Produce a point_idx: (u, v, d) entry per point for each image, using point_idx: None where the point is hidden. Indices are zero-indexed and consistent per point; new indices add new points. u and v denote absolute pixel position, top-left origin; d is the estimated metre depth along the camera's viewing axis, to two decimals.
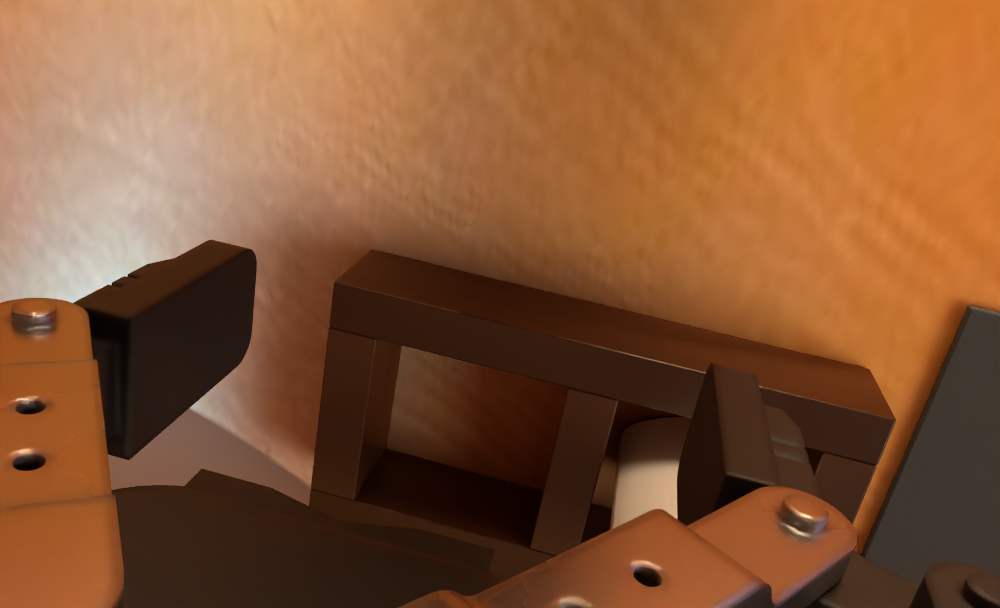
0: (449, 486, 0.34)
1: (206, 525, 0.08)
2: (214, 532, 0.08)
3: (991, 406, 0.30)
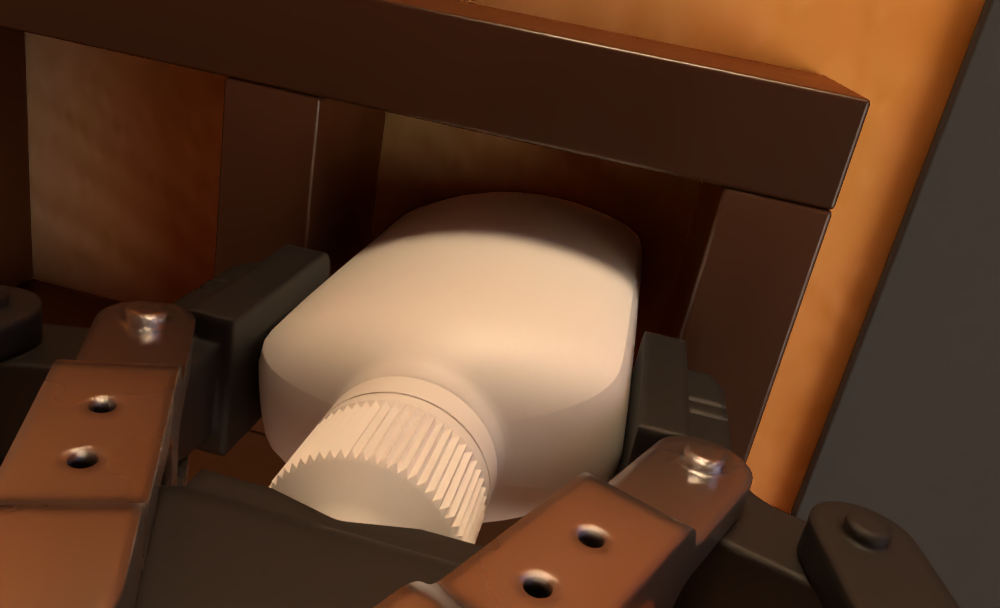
0: None
1: (206, 525, 0.08)
2: (214, 532, 0.08)
3: None
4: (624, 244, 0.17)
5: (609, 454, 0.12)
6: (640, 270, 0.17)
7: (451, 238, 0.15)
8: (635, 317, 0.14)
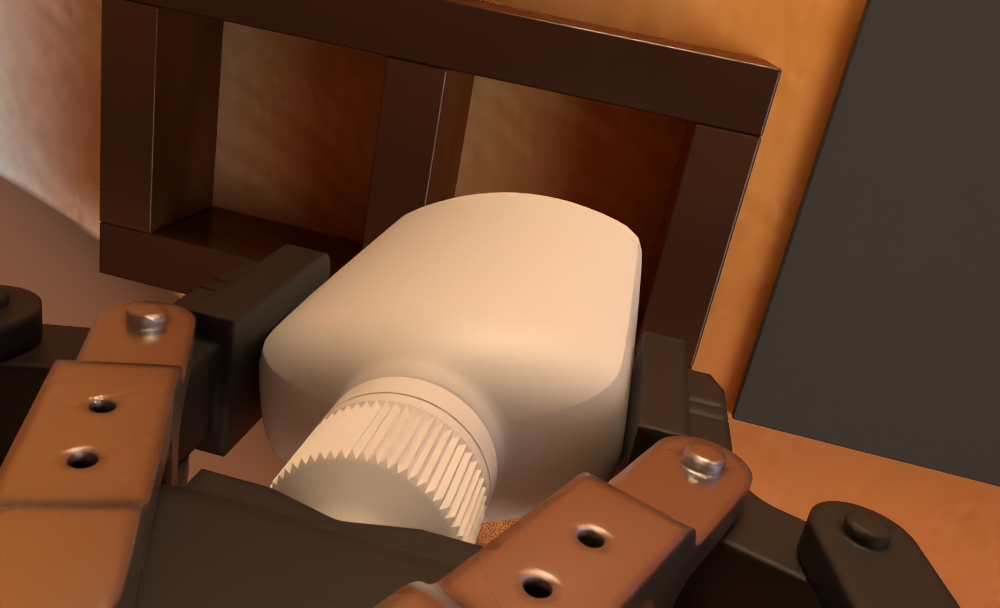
0: (277, 236, 0.29)
1: (206, 525, 0.08)
2: (214, 532, 0.08)
3: (909, 95, 0.25)
4: (624, 244, 0.17)
5: (609, 454, 0.12)
6: (640, 270, 0.17)
7: (451, 238, 0.15)
8: (635, 317, 0.14)
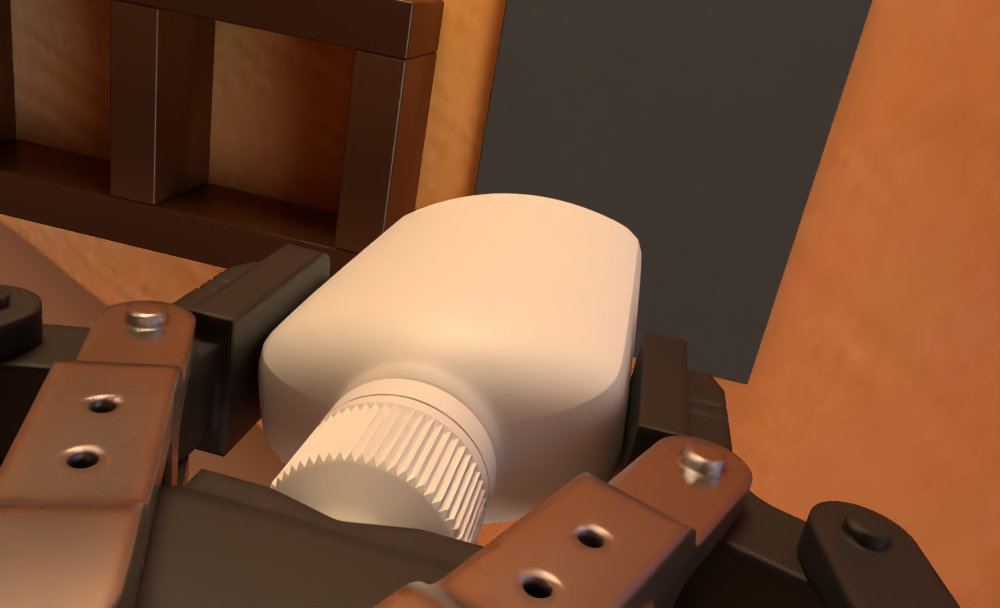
0: (62, 161, 0.34)
1: (206, 525, 0.08)
2: (214, 532, 0.08)
3: (556, 29, 0.30)
4: (623, 246, 0.17)
5: (608, 456, 0.12)
6: (639, 272, 0.17)
7: (450, 240, 0.15)
8: (634, 319, 0.14)
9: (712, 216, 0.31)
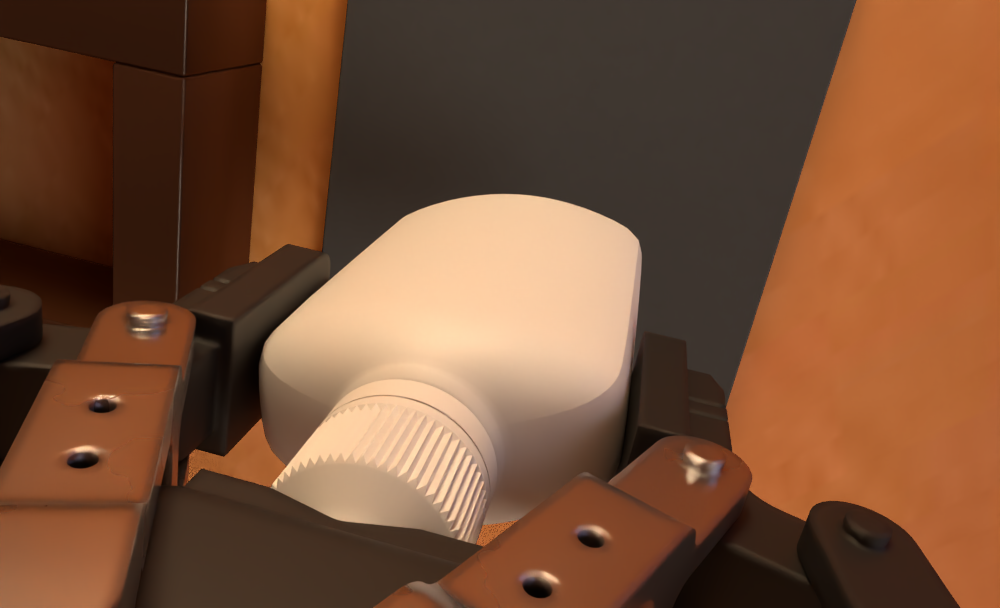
0: None
1: (206, 525, 0.08)
2: (214, 532, 0.08)
3: (418, 32, 0.21)
4: (624, 246, 0.17)
5: (609, 457, 0.12)
6: (640, 272, 0.17)
7: (451, 240, 0.15)
8: (635, 319, 0.14)
9: (640, 291, 0.22)
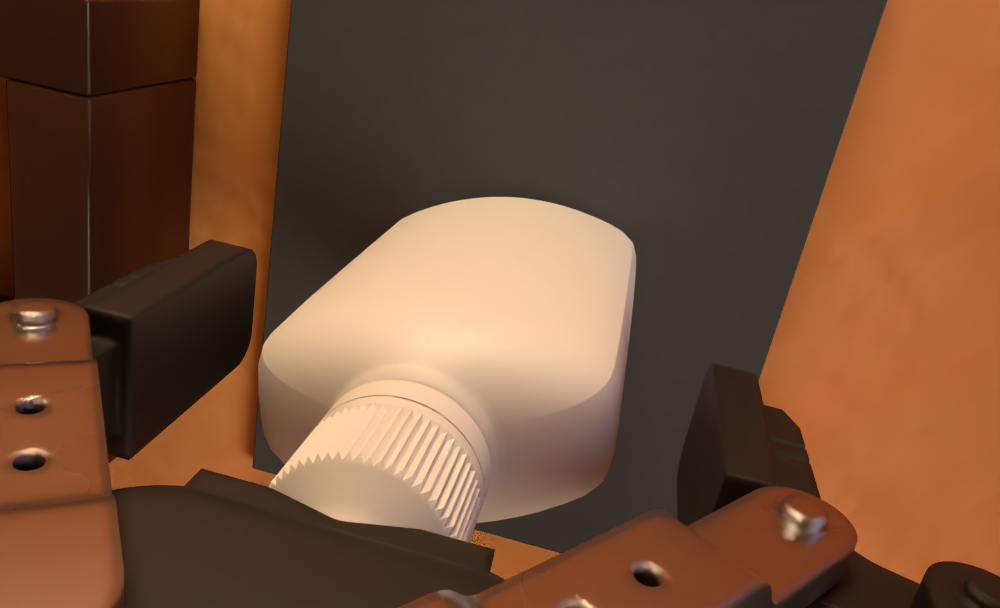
0: None
1: (206, 525, 0.08)
2: (214, 532, 0.08)
3: (372, 44, 0.18)
4: (618, 249, 0.17)
5: (601, 456, 0.12)
6: (634, 275, 0.17)
7: (448, 243, 0.15)
8: (628, 321, 0.15)
9: (629, 342, 0.19)
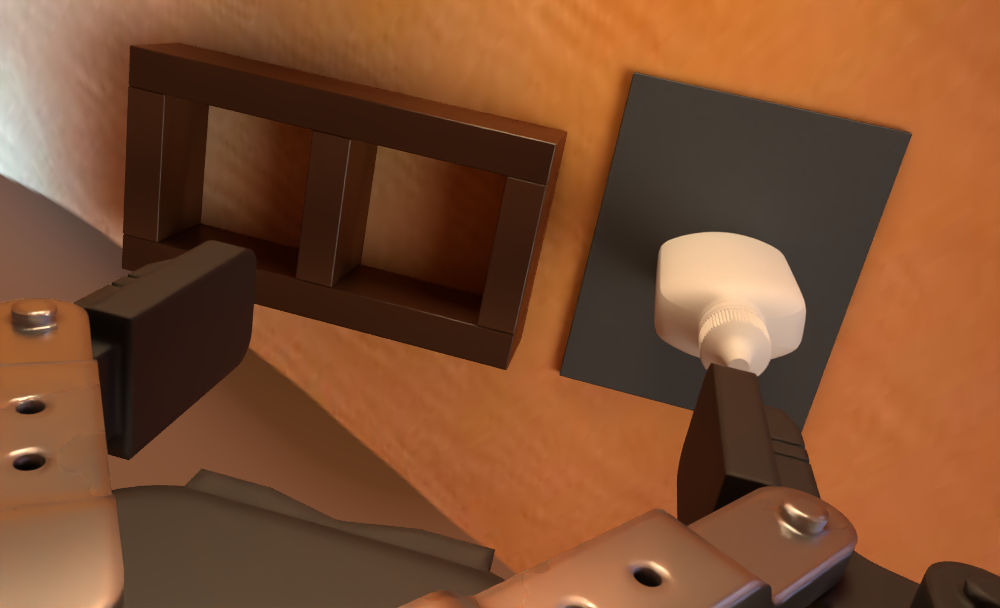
0: (245, 245, 0.42)
1: (206, 525, 0.08)
2: (214, 532, 0.08)
3: (657, 157, 0.38)
4: (781, 257, 0.36)
5: (800, 335, 0.31)
6: None
7: (715, 253, 0.34)
8: None
9: None
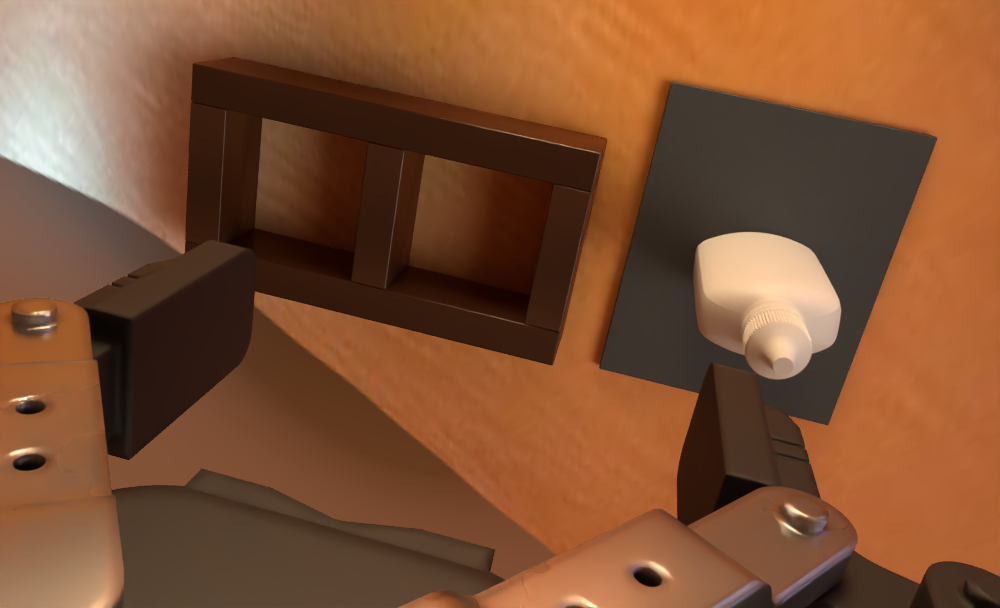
0: (299, 249, 0.44)
1: (206, 525, 0.08)
2: (214, 532, 0.08)
3: (694, 162, 0.40)
4: (813, 256, 0.38)
5: (835, 332, 0.34)
6: None
7: (752, 254, 0.37)
8: None
9: None
